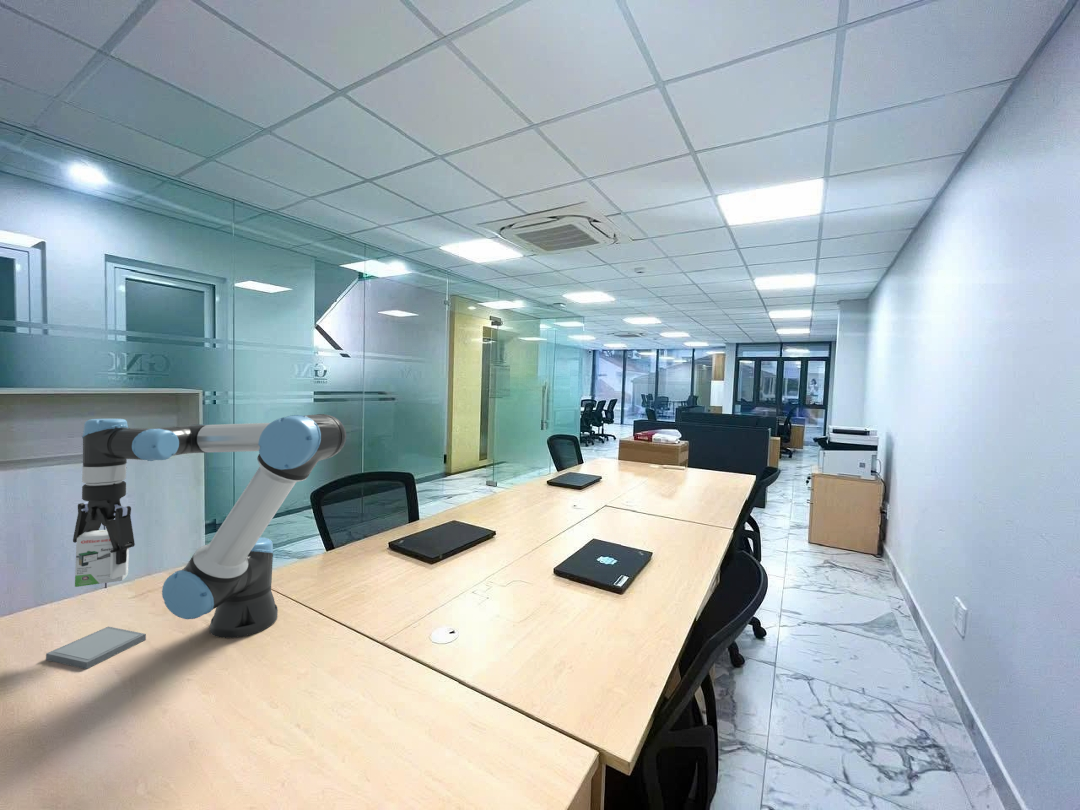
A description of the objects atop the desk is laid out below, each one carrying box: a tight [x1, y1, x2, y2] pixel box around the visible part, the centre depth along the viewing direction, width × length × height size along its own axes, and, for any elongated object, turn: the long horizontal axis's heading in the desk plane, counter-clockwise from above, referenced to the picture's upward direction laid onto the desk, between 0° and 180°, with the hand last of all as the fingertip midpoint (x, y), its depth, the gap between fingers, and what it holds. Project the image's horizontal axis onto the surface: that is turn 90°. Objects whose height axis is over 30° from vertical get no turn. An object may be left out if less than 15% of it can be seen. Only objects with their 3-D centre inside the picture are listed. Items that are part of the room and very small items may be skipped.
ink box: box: [74, 529, 130, 588], centre depth 105 cm, size 9×5×12 cm, turn 121°
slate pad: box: [45, 626, 147, 670], centre depth 103 cm, size 12×12×2 cm
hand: (102, 574), depth 105 cm, fingers closed on ink box, 9 cm apart
